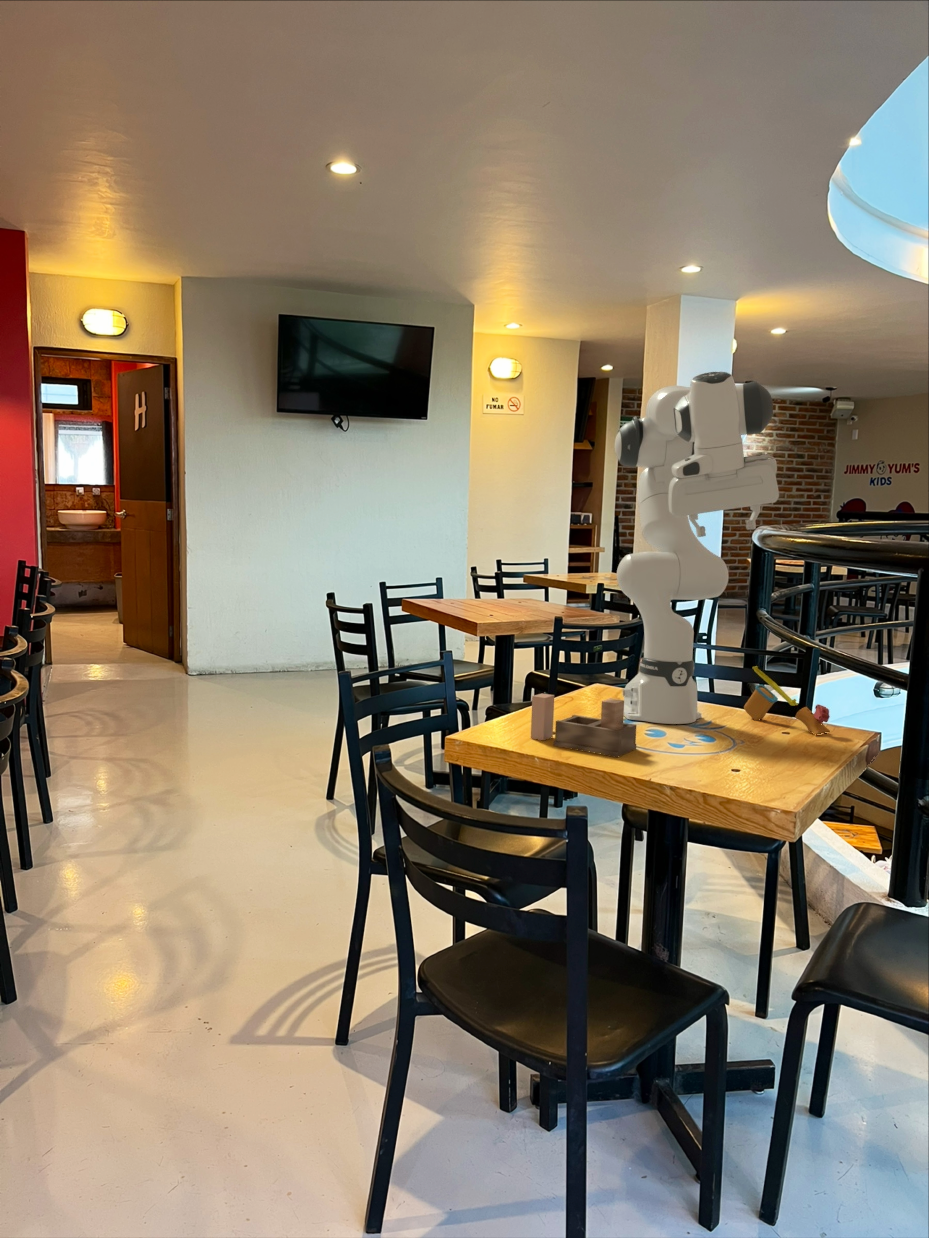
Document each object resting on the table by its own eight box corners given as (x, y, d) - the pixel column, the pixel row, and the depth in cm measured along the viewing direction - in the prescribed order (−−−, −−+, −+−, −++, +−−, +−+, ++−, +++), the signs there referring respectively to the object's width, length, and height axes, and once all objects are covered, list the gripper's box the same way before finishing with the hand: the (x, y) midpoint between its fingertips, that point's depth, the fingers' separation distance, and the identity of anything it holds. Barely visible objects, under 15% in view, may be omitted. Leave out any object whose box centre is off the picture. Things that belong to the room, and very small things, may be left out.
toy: (740, 697, 221) (771, 650, 213) (806, 763, 208) (841, 715, 199) (726, 699, 218) (756, 652, 210) (792, 767, 205) (827, 719, 196)
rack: (553, 745, 183) (555, 697, 182) (574, 737, 191) (576, 691, 190) (617, 757, 176) (619, 706, 175) (636, 748, 183) (638, 699, 182)
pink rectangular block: (530, 738, 189) (532, 696, 188) (540, 735, 192) (541, 693, 192) (543, 740, 188) (544, 697, 187) (552, 737, 191) (554, 695, 190)
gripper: (771, 451, 173) (776, 522, 176) (663, 467, 175) (670, 537, 178) (780, 453, 167) (785, 527, 170) (668, 470, 169) (675, 543, 172)
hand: (726, 532), depth 174 cm, fingers open, 8 cm apart
